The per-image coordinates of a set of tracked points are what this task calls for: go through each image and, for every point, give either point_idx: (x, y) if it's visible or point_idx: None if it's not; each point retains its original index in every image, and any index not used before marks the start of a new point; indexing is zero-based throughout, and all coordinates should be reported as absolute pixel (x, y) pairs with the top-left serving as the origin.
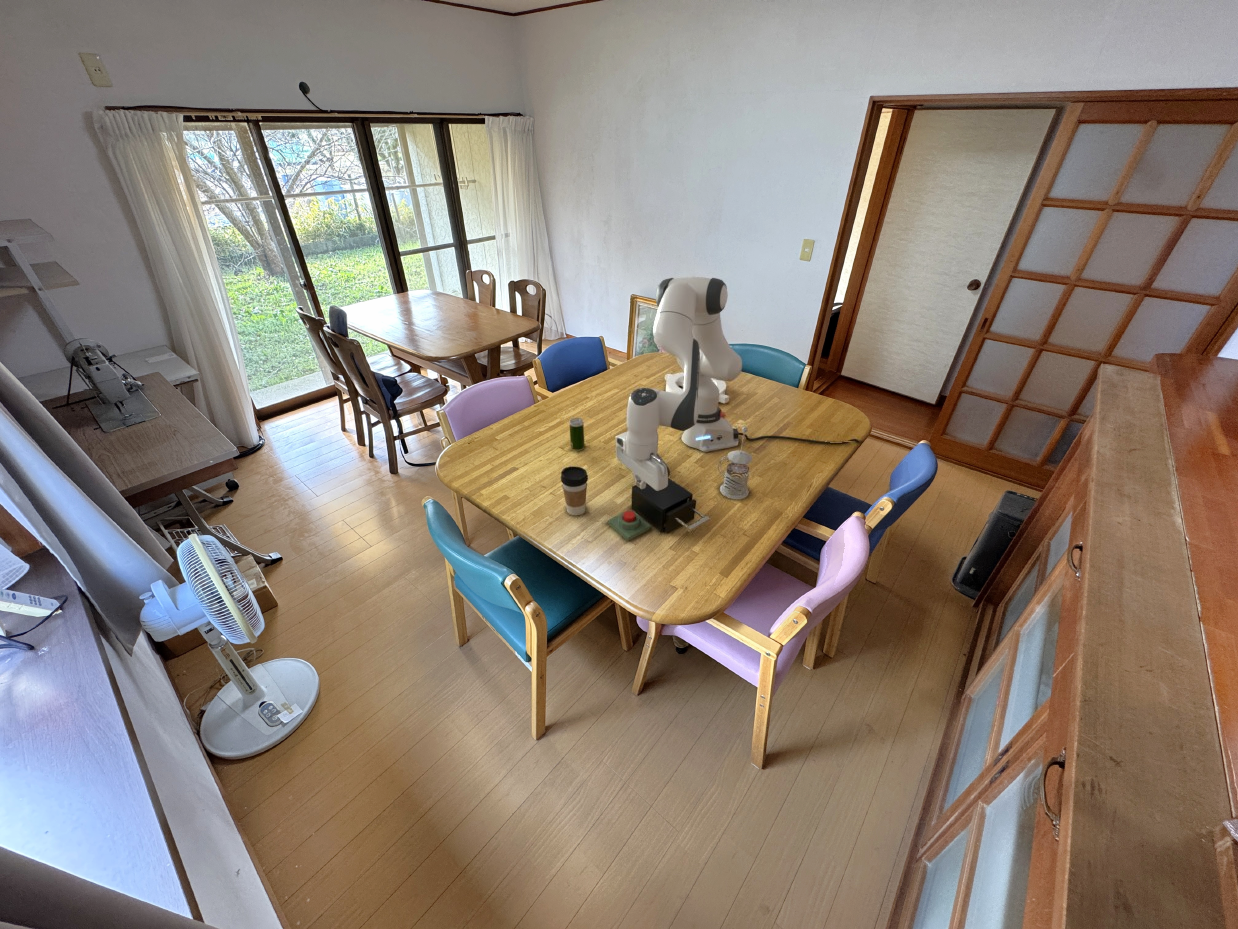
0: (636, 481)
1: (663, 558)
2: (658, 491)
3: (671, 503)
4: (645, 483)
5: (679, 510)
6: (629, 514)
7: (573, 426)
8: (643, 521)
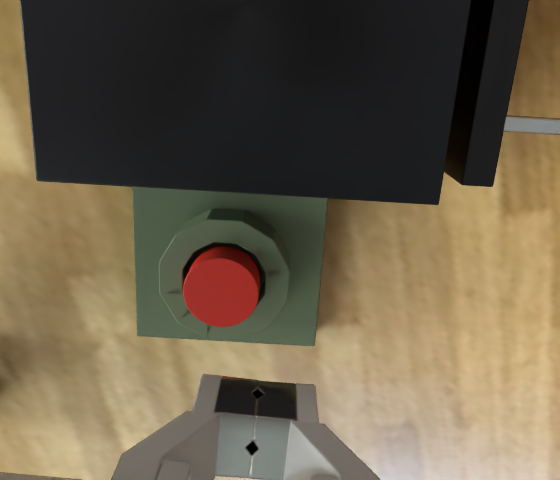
0: (215, 471)
1: (525, 286)
2: (235, 46)
3: (437, 85)
4: (318, 427)
5: (512, 69)
6: (220, 291)
7: None
8: (273, 197)
